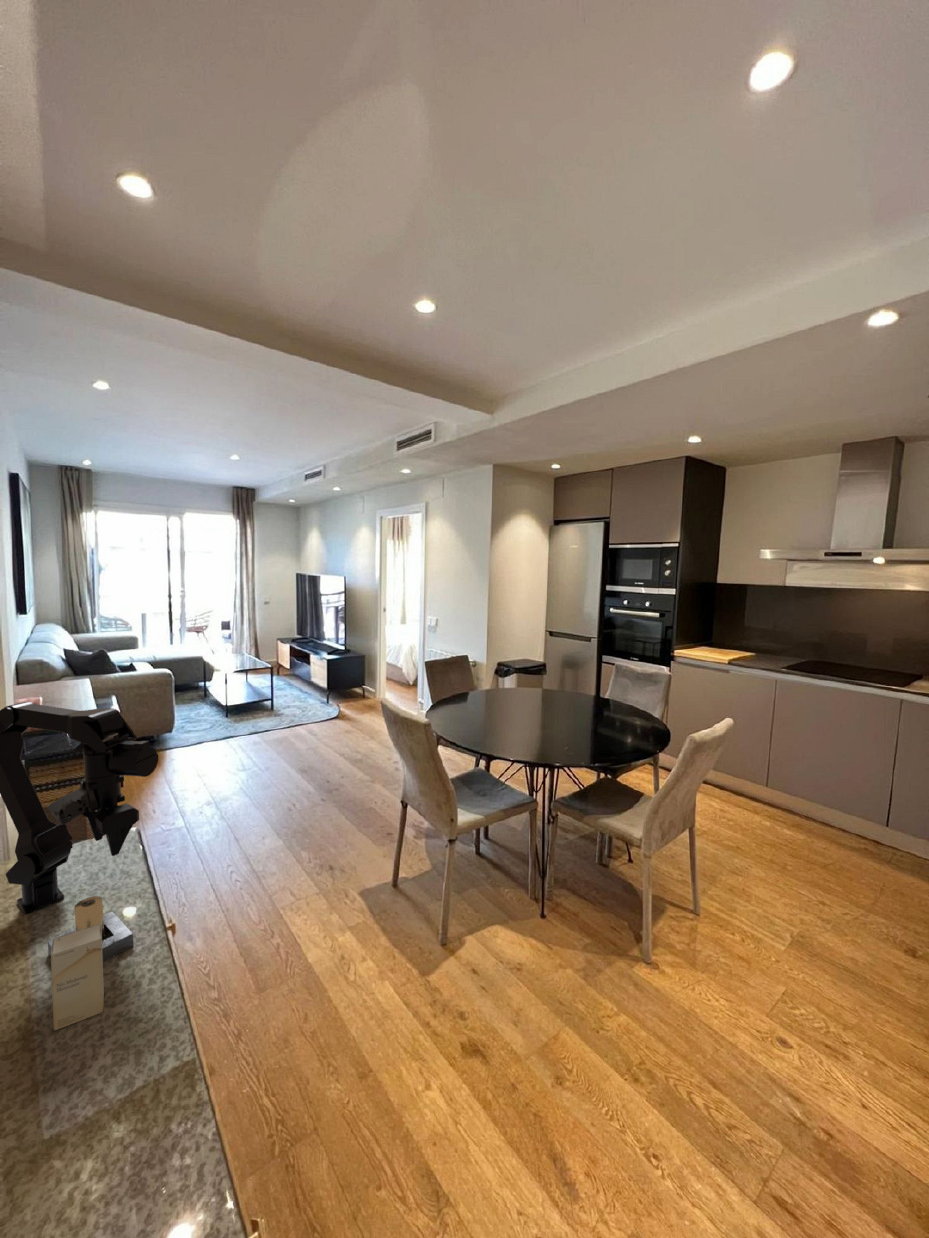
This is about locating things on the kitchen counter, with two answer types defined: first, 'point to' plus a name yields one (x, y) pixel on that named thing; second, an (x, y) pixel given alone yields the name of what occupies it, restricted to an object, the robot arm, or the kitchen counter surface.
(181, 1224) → the kitchen counter surface
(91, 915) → the bushing
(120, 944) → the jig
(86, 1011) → the skincare box
